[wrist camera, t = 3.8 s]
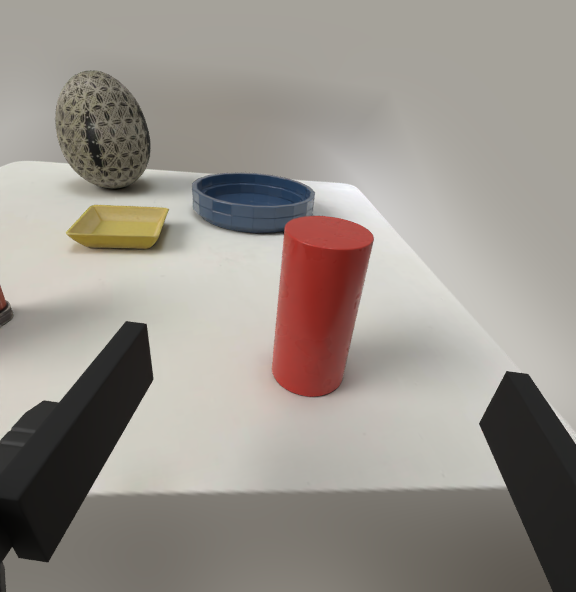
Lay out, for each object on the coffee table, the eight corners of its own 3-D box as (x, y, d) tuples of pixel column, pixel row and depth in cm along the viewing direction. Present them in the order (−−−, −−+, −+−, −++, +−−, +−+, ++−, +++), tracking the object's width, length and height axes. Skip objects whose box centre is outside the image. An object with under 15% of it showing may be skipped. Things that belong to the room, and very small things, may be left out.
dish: (313, 202, 58) (316, 180, 56) (308, 242, 44) (312, 213, 43) (211, 190, 59) (211, 168, 57) (175, 226, 45) (173, 197, 43)
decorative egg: (148, 200, 52) (135, 76, 44) (55, 197, 50) (25, 66, 42) (159, 179, 62) (150, 74, 54) (82, 175, 60) (61, 65, 52)
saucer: (160, 254, 38) (158, 235, 37) (68, 252, 36) (63, 232, 35) (170, 224, 45) (169, 207, 44) (94, 221, 44) (91, 204, 43)
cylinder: (341, 352, 27) (369, 221, 22) (344, 401, 23) (379, 254, 18) (276, 344, 27) (289, 211, 22) (267, 391, 23) (279, 242, 18)
